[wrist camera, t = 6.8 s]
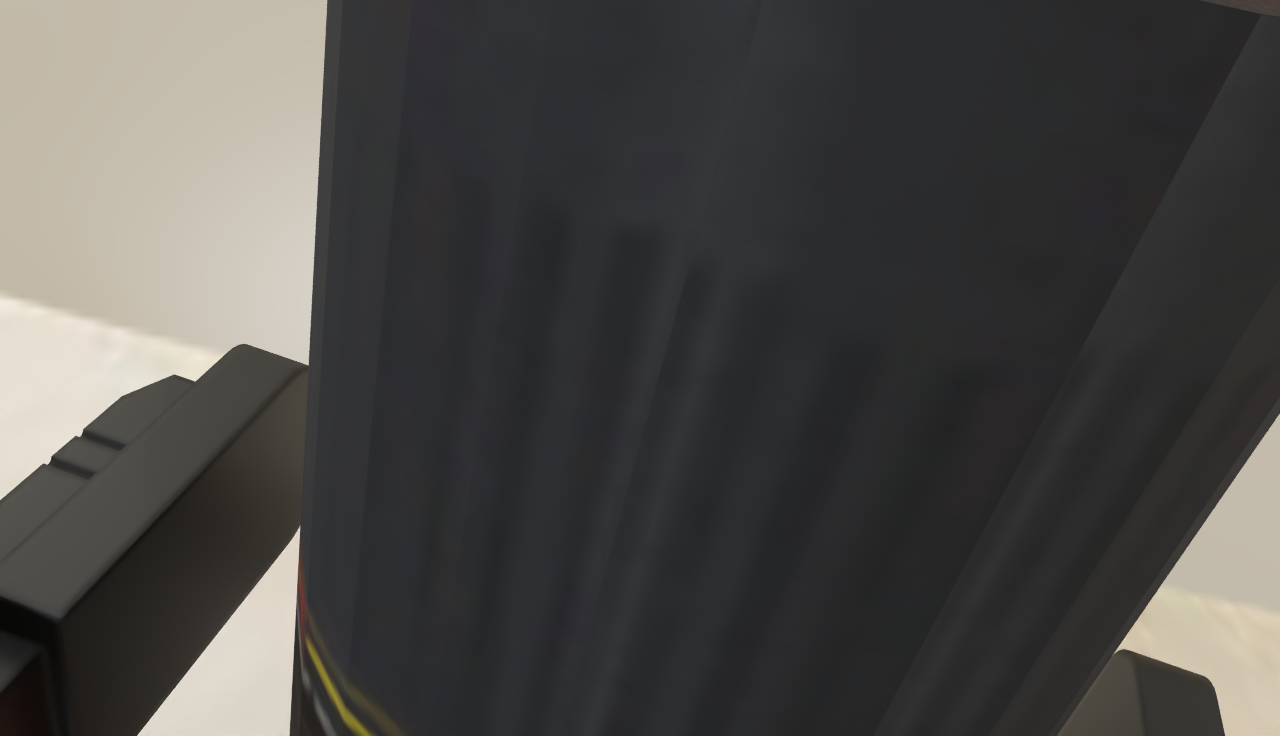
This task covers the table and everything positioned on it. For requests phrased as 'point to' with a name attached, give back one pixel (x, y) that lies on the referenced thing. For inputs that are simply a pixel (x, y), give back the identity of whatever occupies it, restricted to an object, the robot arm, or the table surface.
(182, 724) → the table surface
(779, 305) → the deodorant
